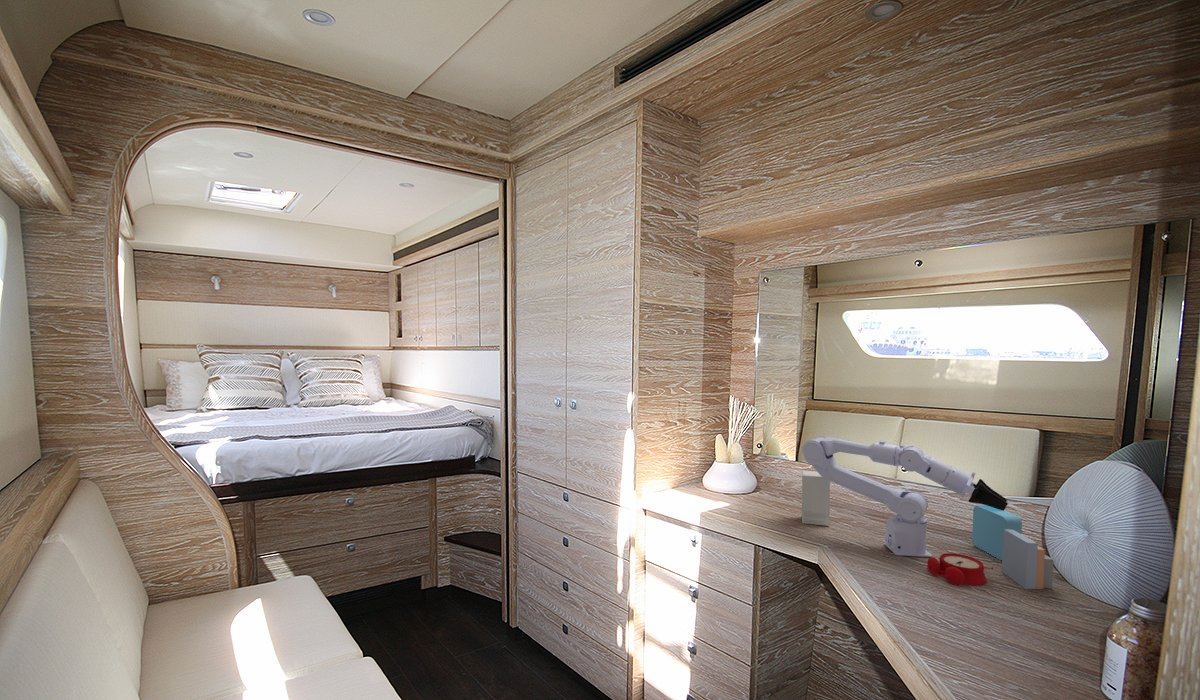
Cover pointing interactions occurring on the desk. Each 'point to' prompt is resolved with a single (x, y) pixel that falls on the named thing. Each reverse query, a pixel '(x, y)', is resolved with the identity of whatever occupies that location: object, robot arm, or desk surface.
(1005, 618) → the desk surface
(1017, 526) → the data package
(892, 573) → the desk surface
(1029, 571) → the book row
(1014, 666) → the desk surface
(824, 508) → the skincare box
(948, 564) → the alarm clock
